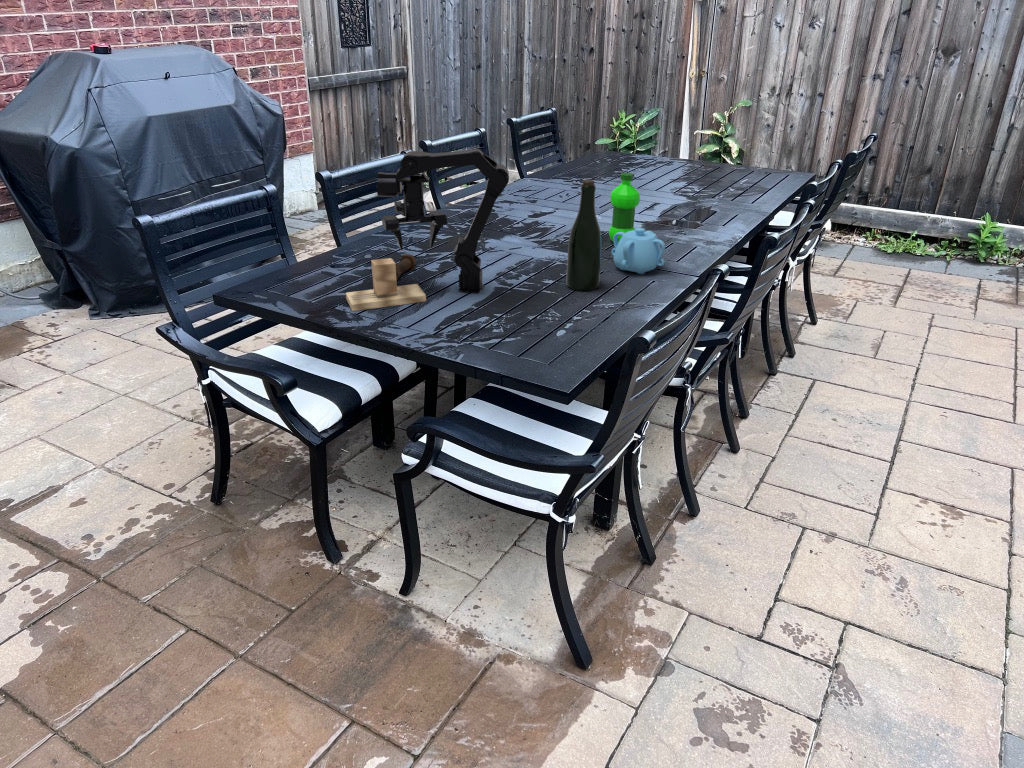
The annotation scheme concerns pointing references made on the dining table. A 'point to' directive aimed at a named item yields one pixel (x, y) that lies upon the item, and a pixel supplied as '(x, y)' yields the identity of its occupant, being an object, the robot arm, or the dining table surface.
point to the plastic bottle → (623, 206)
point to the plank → (385, 298)
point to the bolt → (405, 264)
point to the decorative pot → (638, 251)
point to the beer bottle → (585, 244)
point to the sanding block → (384, 277)
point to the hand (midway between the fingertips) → (416, 248)
